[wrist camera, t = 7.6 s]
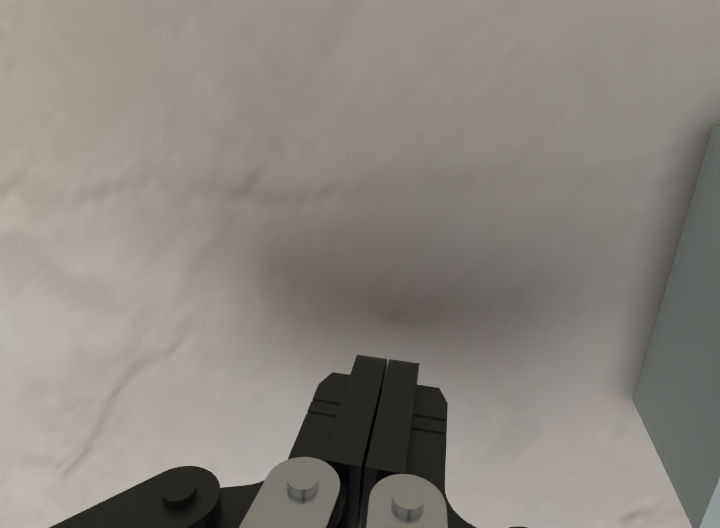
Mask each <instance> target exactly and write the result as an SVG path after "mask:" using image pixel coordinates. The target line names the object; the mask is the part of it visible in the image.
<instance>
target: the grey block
mask: <svg viewBox="0 0 720 528" xmlns="http://www.w3.org/2000/svg"><path fill="white" fill-rule="evenodd" d="M633 402H634V404H635V406H636V408H637V410H638V412H639V414H640V416H641V419H642V421H643V423H644V425H645V427H646V429H647V431H648V434H649V436H650V438H651V440H652V442H653V444H654V446H655V449H656V451H657V453H658V455H659V457H660V459H661V461H662V463H663V466H664V468H665V470H666V472H667V474H668V476H669V478H670V481H671V483H672V485H673V487H674V489H675V491H676V493H677V495H678V498H679V500H680V502H681V504H682V506H683V508H684V510H685V513H686V515H687V517H688V519H689V521H690V523H691V525H692V527H693V528H720V125H713V127H712V131H711V134H710V138H709V141H708V144H707V148H706V151H705V155H704V158H703V162H702V165H701V168H700V172H699V175H698V179H697V182H696V185H695V189H694V192H693V196H692V199H691V203H690V206H689V209H688V213H687V216H686V220H685V223H684V226H683V230H682V233H681V237H680V240H679V244H678V247H677V250H676V254H675V257H674V261H673V264H672V267H671V271H670V274H669V278H668V281H667V284H666V288H665V291H664V295H663V298H662V302H661V305H660V308H659V312H658V315H657V319H656V322H655V325H654V329H653V332H652V336H651V339H650V343H649V346H648V349H647V353H646V356H645V360H644V363H643V366H642V370H641V373H640V377H639V380H638V384H637V387H636V390H635V394H634V397H633Z"/></svg>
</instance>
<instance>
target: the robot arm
mask: <svg viewBox="0 0 720 528" xmlns="http://www.w3.org/2000/svg"><path fill="white" fill-rule="evenodd" d="M418 370H419V364H418V363H411V362H405V361H398V360H391V359H389V363H388V367H387V359H383V358H376V357H369V356H362V355H357V357H356V359H355V362H354V366H353V369H352V372H351V375H347V374H340V373H331V374H330V375H329V376H328V377H327V378H325V379H324V380H323V381H322V382H321V383H319V385H318V387H317V390H316V392H315V395H314V397H313V401H312V402H311V404H310V407H309V409H308V413H307V414H306V417H305V419H304V421H303V424H302V426H301V429H300V431H299V433H298V436H297V438H296V441H295V443H294V446H293V448H292V450H291V453H290V455H289V458H288V460H286V461H284V462H282V463H280V464H278V465H277V466H276V467H274V468H273V469H272V470H271V471H270V473H269V474H268V476H267V478H266V479H265V481H262V482H260V483H256V484H252V485H246V486H235V487H225V488H220V485H219V482H218V480H217V478H216V476H215V475H213V474H212V473H211V472H210V471H208V470H206V469H204V468H200V467H196V466H182V467H177V468H173V469H170V470H167V471H165V472H163V473H161V474H159V475H156V476H154V477H152V478H150V479H148V480H146V481H144V482H142V483H140V484H138V485H136V486H134V487H132V488H130V489H128V490H126V491H124V492H122V493H120V494H118V495H116V496H113V497H111V498H109V499H107V500H105V501H103V502H101V503H99V504H97V505H95V506H93V507H91V508H89V509H87V510H85V511H83V512H81V513H79V514H77V515H75V516H72V517H70V518H68V519H66V520H64V521H62V522H60V523H58V524H56V525H54V526H52V527H50V528H476V527H474V526H472V525H471V524H469V523H467V522H466V521H465V520H463V519H462V518H461V517H460V516H459V515H458V514H457V513H456V512H455V511H454V510H453V509H452V507H451V506H450V504H449V502H448V500H447V498H446V494H445V459H446V432H447V404H448V403H447V402H446V400H445V398H444V396H443V394H442V393H441V391H440V389H439V388H435V387H428V386H422V385H417V379H418ZM510 528H526V527H510Z"/></svg>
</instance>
